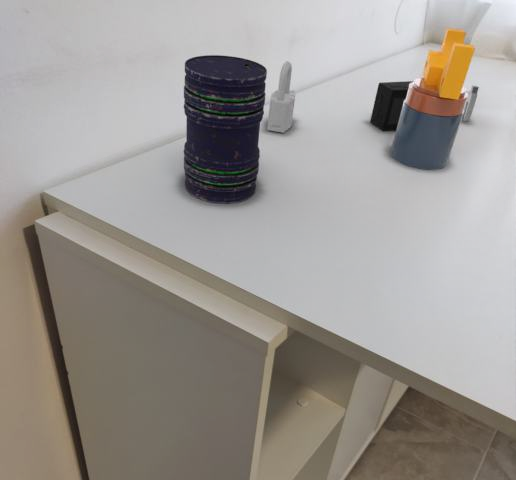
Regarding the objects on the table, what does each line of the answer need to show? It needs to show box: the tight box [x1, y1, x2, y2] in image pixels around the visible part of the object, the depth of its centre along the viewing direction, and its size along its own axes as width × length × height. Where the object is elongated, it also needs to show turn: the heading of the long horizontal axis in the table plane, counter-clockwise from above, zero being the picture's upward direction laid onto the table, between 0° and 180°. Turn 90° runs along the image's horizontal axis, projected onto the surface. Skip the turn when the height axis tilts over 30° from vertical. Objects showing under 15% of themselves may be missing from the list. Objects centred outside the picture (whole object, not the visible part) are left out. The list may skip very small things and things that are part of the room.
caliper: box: [461, 85, 480, 122], centre depth 108 cm, size 20×1×6 cm, turn 171°
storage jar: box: [183, 54, 268, 204], centre depth 68 cm, size 10×10×15 cm
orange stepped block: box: [422, 27, 476, 100], centre depth 77 cm, size 12×4×6 cm, turn 170°
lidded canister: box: [389, 77, 468, 170], centre depth 83 cm, size 9×9×11 cm
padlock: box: [266, 61, 296, 134], centre depth 89 cm, size 7×4×10 cm, turn 166°
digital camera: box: [369, 80, 414, 132], centre depth 95 cm, size 10×5×7 cm, turn 114°
